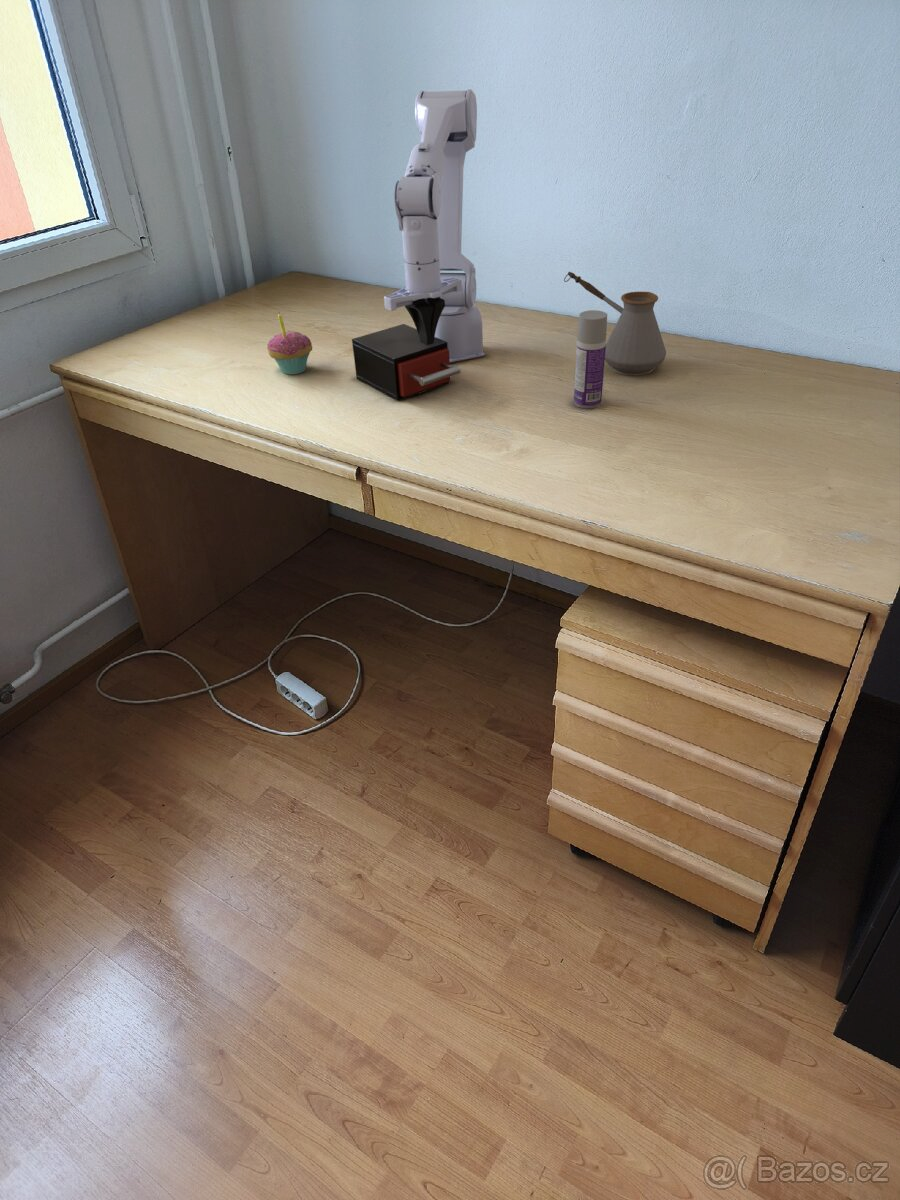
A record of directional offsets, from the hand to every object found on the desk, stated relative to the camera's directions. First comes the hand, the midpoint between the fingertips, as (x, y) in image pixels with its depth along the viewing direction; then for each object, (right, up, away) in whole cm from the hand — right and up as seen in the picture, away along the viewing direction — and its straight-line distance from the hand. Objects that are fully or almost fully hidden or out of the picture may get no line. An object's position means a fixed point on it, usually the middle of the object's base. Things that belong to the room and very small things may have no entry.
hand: (427, 342), depth 136 cm
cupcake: (-26, 0, +18) cm, 32 cm away
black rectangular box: (-5, -3, +11) cm, 13 cm away
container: (+28, -10, 0) cm, 29 cm away
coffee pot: (+34, +1, +14) cm, 37 cm away
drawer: (-2, -5, +8) cm, 10 cm away
